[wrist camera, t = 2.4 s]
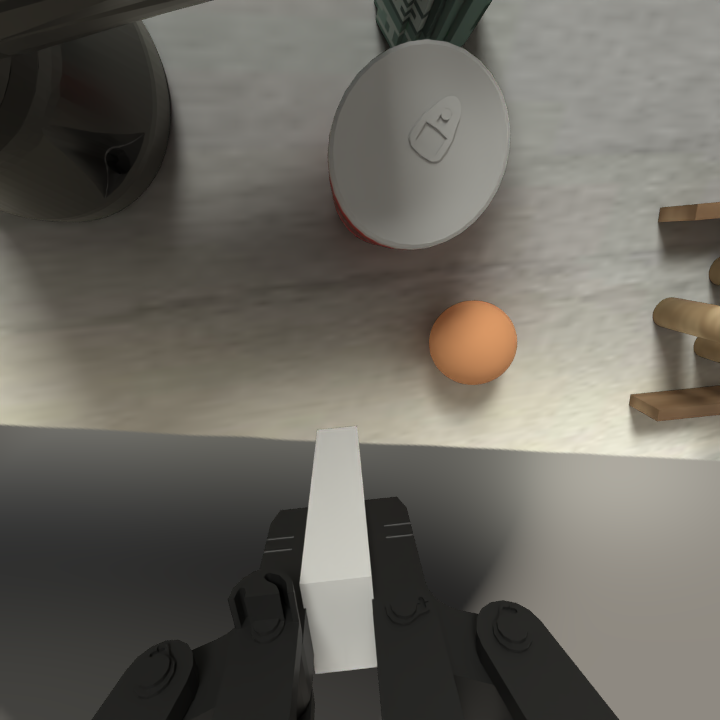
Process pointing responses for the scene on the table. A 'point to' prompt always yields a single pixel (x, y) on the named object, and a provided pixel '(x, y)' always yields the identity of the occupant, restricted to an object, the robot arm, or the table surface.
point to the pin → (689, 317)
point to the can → (429, 19)
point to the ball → (473, 342)
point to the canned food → (418, 145)
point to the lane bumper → (692, 399)
